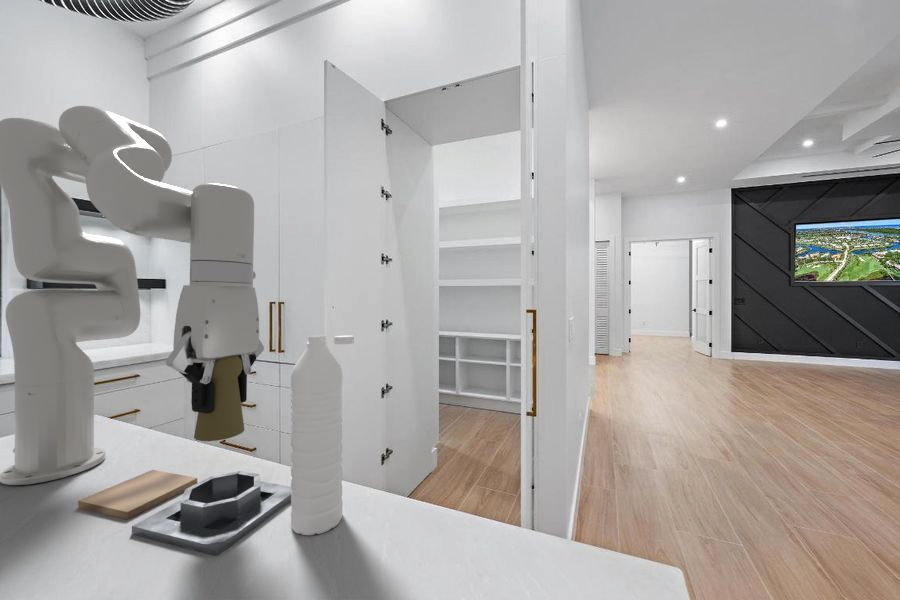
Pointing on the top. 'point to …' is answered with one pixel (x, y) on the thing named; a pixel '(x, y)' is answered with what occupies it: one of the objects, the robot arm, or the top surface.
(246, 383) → the robot arm
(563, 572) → the top surface
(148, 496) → the coaster board
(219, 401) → the cork
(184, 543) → the grey octagonal holder
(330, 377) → the water bottle
